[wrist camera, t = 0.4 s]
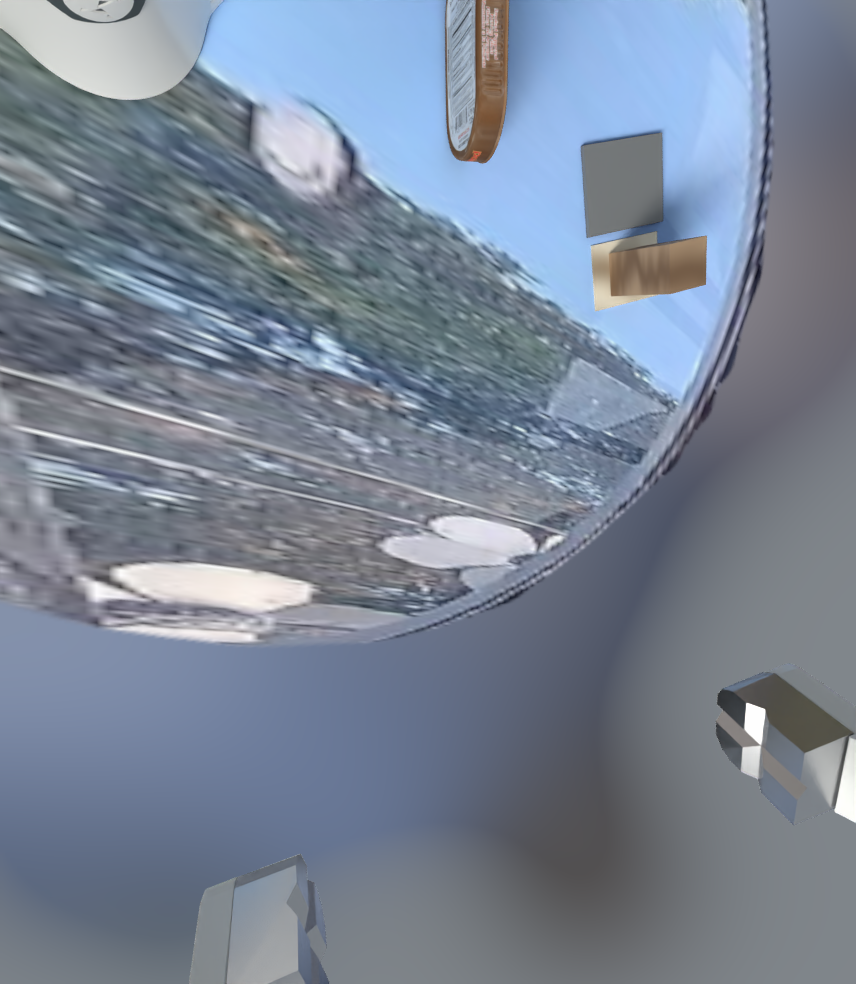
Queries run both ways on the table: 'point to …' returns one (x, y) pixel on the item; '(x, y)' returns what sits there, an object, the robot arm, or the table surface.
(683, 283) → the walnut block
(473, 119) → the tin
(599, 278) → the placard
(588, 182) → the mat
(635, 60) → the table surface
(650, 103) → the table surface
